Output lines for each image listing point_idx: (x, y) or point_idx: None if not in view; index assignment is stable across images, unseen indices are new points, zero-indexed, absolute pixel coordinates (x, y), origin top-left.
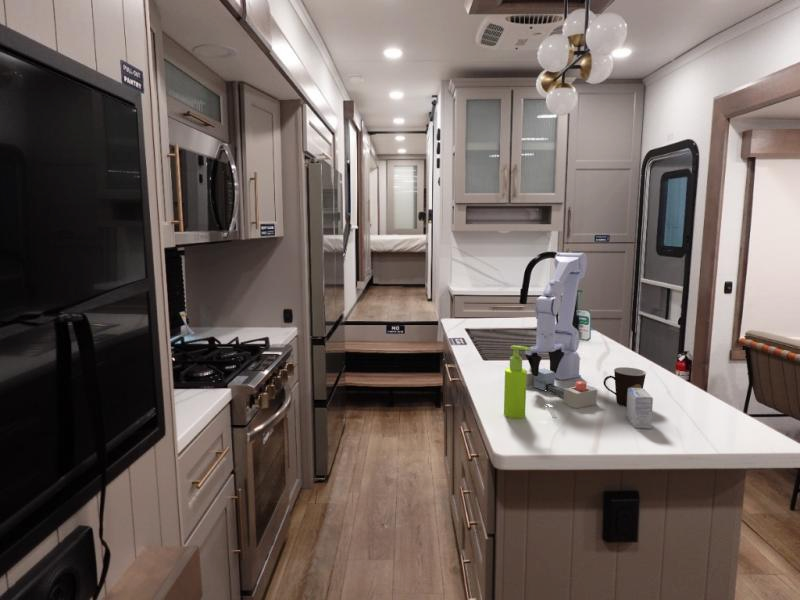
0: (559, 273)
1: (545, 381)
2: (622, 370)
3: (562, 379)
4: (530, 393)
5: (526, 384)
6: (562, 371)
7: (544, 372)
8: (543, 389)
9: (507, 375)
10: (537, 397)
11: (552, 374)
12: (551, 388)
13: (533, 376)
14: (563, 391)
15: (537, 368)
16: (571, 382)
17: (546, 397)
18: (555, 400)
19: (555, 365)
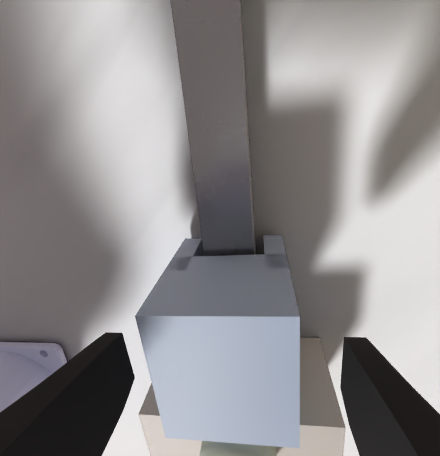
0: None
1: (271, 266)
2: None
3: (47, 343)
4: (397, 236)
5: (322, 355)
6: (6, 393)
7: (255, 353)
8: (281, 240)
9: None
10: (426, 139)
11: (176, 301)
12: (250, 193)
13: None
14: (229, 37)
15: (427, 422)
16: (18, 296)
17: (357, 112)
18: (345, 9)
19: (62, 408)
